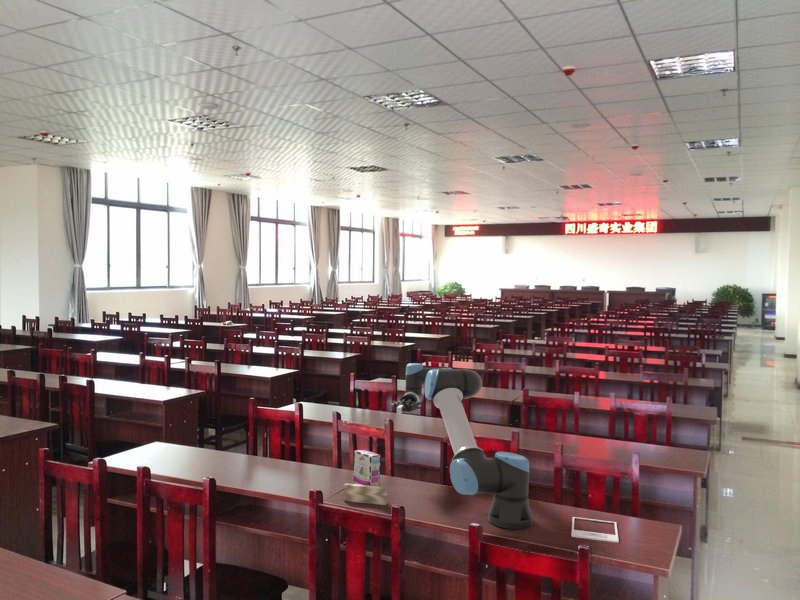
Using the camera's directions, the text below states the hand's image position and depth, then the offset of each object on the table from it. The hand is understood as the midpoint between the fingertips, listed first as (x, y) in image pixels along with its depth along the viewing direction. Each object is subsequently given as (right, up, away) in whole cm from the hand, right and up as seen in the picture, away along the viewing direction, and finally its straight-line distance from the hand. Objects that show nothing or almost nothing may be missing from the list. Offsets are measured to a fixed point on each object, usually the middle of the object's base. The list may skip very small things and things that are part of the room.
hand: (398, 410), depth 251 cm
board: (-12, -31, -17) cm, 37 cm away
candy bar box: (-12, -31, -9) cm, 34 cm away
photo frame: (+66, -34, -38) cm, 84 cm away
